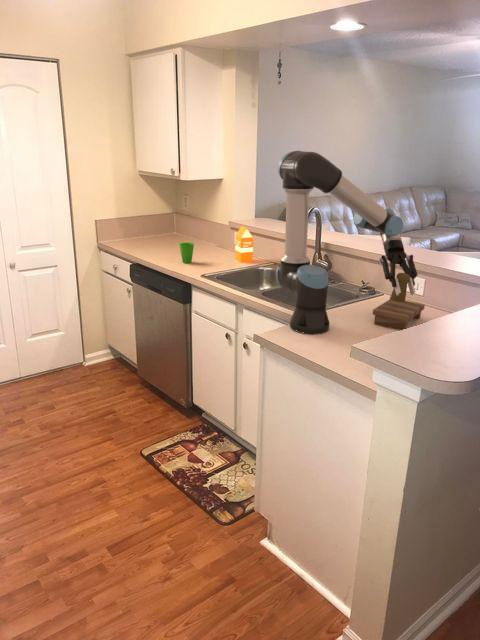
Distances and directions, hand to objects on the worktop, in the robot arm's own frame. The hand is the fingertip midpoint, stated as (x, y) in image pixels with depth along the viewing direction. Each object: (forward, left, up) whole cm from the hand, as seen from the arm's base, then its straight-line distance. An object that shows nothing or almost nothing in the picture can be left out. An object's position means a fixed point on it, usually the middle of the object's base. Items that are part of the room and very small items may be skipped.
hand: (405, 293), depth 200 cm
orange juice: (-35, +121, -13) cm, 126 cm away
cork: (-1, +4, -4) cm, 6 cm away
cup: (-69, +122, -13) cm, 140 cm away
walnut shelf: (0, +4, -13) cm, 13 cm away
